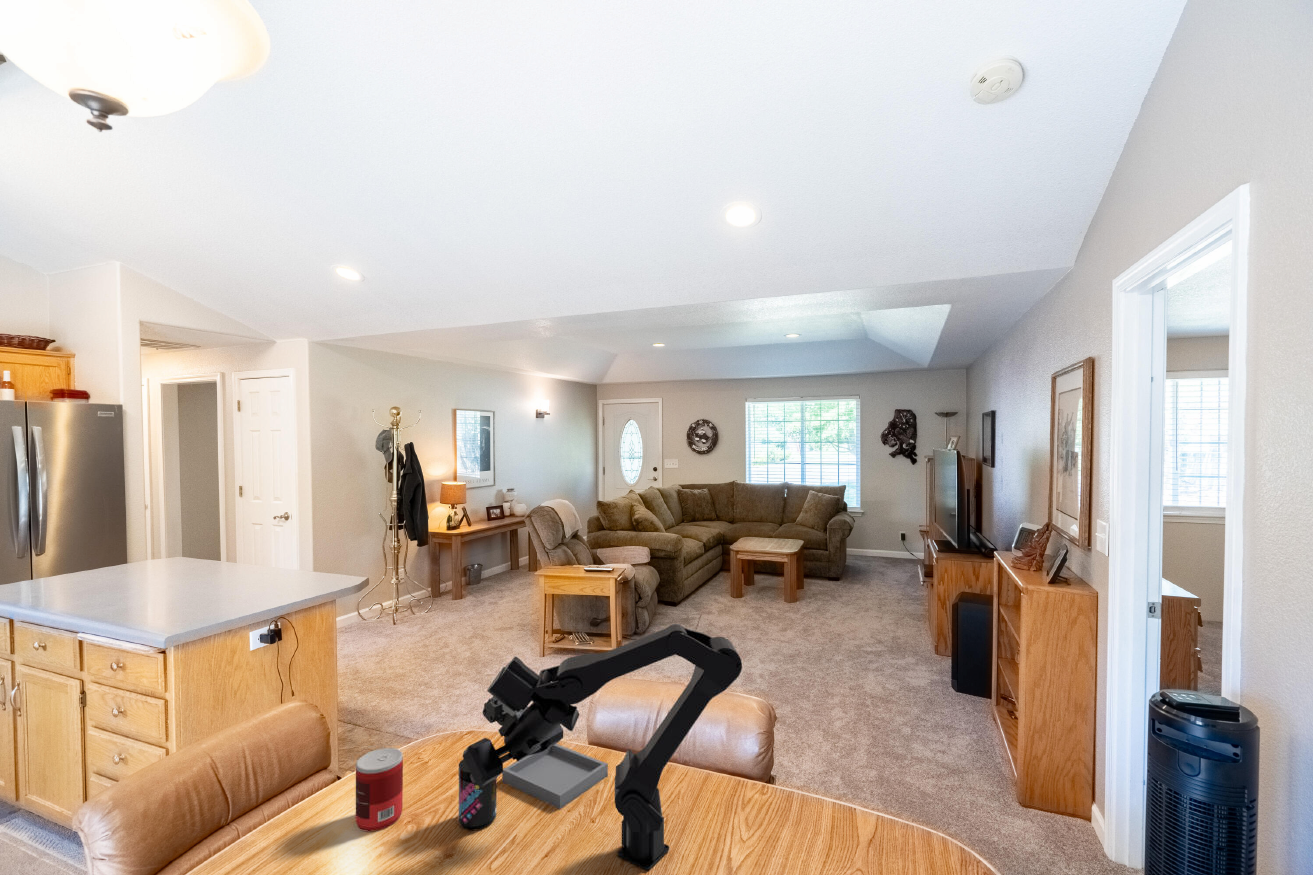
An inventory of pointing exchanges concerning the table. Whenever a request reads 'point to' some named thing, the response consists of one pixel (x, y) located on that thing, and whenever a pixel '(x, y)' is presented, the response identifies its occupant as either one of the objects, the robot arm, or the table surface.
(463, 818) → the supplement container
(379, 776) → the canned food
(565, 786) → the tray
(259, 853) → the table surface
